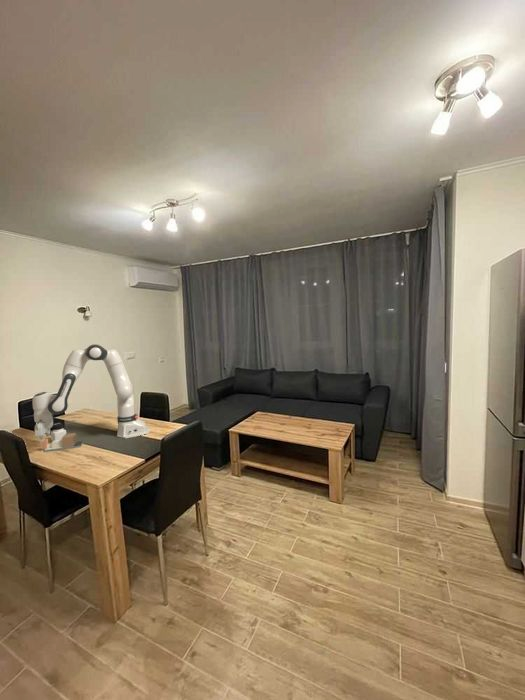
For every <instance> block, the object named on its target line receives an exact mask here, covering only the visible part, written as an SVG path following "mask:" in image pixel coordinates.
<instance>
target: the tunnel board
mask: <svg viewBox="0 0 525 700" xmlns="http://www.w3.org/2000/svg"><path fill="white" fill-rule="evenodd" d="M62 444H63V446H62V447H55V448H52V447H51V448H45V449H43V450H44V451H43V452H44V453H47V452H48V453H49V452H53V451H54V452H55V451H61V450H69V449H77V448H81V447H82V446H83V444H84V440H82V441H77V433H76V432H72V433H71V432H70V433H66V434H65V435H64V436H63V437H62Z"/></svg>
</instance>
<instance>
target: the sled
mask: <svg viewBox="0 0 525 700" xmlns="http://www.w3.org/2000/svg"><path fill="white" fill-rule="evenodd" d="M62 446H63V444H62V440H54V441H53V442H52V441H51V443H49V438H45V440H44V441H43V442H41V441H40V447H41V448H40V449H41V450H45V449H46V448H51V447H52V448H55V447H62Z"/></svg>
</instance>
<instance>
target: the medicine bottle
mask: <svg viewBox="0 0 525 700" xmlns="http://www.w3.org/2000/svg"><path fill="white" fill-rule="evenodd" d="M65 434H67V430H66V429H65V428H64V423H62V422H58V423H53V426H52V430H50V441H51V443H52V442H53V441H54V440H62V437H63V436H64V435H65Z"/></svg>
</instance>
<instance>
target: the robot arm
mask: <svg viewBox="0 0 525 700" xmlns="http://www.w3.org/2000/svg"><path fill="white" fill-rule="evenodd" d="M90 360H91V361H103V362H104V364H105V366H106V369H107V372H108V375H109V377H110V380H111V382H112V386H113V388H114V392H115V394H116V396H117V397H116V399H117V404H116V405H117V407H116V408H117V420H116V421H117V424H118V425H117V434H116V437H118V438H123V439H129V438H136V437H139V436H140V435H141V436H145V435H144V434H146V435H148V434H149V433H150V432H151V429H150V427H148V426H147V423H146V422H145V421H144V420H141V419H139V416H138V415H139V414H138V413H135V395H134V391H135V390H134V383H132V381H131V380H130V377H129V374H128V371H127V368H126V365H125V364H124V361H123V359H122V357H121V355H120V353H119V352H118V350H116V349H115V348H113V349H112V348H109V349H106V348H104V347H103V346H102V345H100V344H97V343H93V344H90V345H88V346H87V347H86V348H85V349H79V348H78V349H77V348H76V349H73V350H72V351H71V352H70V354H69V355H68V357H67V358H66V360H65V363H64V365H63V369H62V373H61V377H62V378H61V384H60V386H59V389H58V391H57V394H52V393H50V392H48V391H42V392H39V393H37V394H35V395H34V396H33V397H32V399H31V400H32V403H31V404H32V409H33V418H34V420H33V421H34V423H36V424H35V425H34V437H36V438H39V439H40V443H41V442H43V441H44V440H45V439H46V438H45V437H44V436H45V435H46V437H50V436H51V428H53V425H54V415H57V416H58V415H61V414H63V413H65V412H66V411H67V410H68V407H69V404H68V399H69V396H70V394H71V391H72V389H73V387H74V385H75V383H76V382H77V380H78V379H79V377H80V376H81V374H82V372H83V370H84V368H85V366H86V363H88V361H90Z"/></svg>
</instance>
